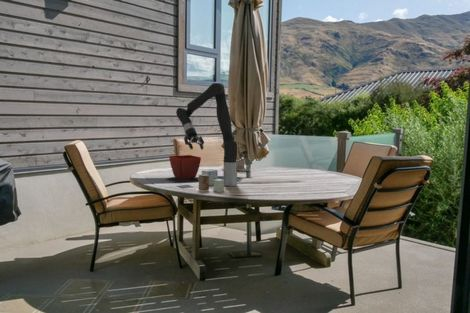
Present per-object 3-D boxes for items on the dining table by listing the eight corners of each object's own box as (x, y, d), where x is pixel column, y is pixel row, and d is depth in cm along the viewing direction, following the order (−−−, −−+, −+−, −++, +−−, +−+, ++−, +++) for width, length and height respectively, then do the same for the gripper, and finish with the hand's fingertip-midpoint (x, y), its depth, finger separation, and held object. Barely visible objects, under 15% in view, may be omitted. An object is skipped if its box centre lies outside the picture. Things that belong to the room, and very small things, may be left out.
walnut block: (205, 188, 295) (205, 174, 294) (208, 190, 291) (209, 175, 289) (198, 189, 292) (198, 174, 291) (202, 190, 288) (202, 175, 287)
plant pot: (180, 180, 330) (180, 158, 328) (168, 176, 345) (168, 156, 343) (201, 178, 341) (201, 157, 339) (189, 175, 356) (189, 154, 355)
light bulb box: (211, 183, 321) (211, 168, 320) (217, 184, 316) (218, 169, 315) (201, 184, 312) (201, 170, 311) (207, 186, 308) (208, 171, 307)
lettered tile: (206, 188, 298) (206, 188, 297) (212, 190, 290) (212, 190, 290) (194, 189, 293) (194, 189, 293) (201, 192, 285) (201, 191, 285)
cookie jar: (248, 171, 386) (249, 135, 383) (221, 170, 386) (222, 135, 382) (247, 167, 411) (248, 134, 407) (221, 167, 410) (222, 133, 407)
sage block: (218, 190, 292) (218, 178, 291) (223, 191, 289) (224, 179, 288) (213, 191, 288) (213, 179, 287) (218, 192, 285) (219, 180, 284)
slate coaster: (187, 185, 307) (187, 184, 307) (193, 187, 300) (193, 186, 300) (176, 186, 302) (176, 185, 302) (182, 188, 295) (182, 187, 295)
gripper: (183, 127, 298) (190, 145, 290) (200, 127, 307) (208, 145, 299) (179, 133, 303) (186, 152, 295) (196, 134, 311) (203, 152, 304)
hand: (197, 148), depth 297 cm, fingers open, 8 cm apart
